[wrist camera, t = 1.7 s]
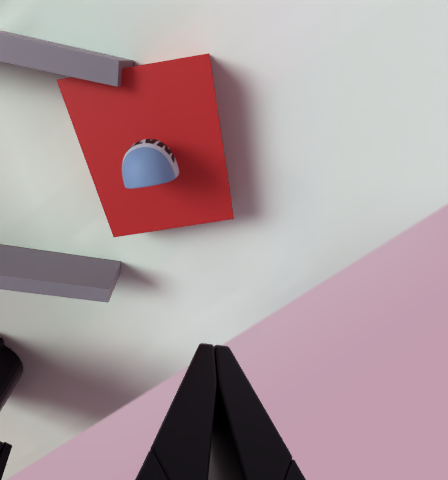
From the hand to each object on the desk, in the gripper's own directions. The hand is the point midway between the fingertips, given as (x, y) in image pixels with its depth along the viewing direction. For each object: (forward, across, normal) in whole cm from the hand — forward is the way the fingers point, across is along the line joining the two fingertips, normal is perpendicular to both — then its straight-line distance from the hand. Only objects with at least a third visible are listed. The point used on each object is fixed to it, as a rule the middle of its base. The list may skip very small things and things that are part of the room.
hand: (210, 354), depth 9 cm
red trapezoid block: (+13, +3, -3) cm, 13 cm away
